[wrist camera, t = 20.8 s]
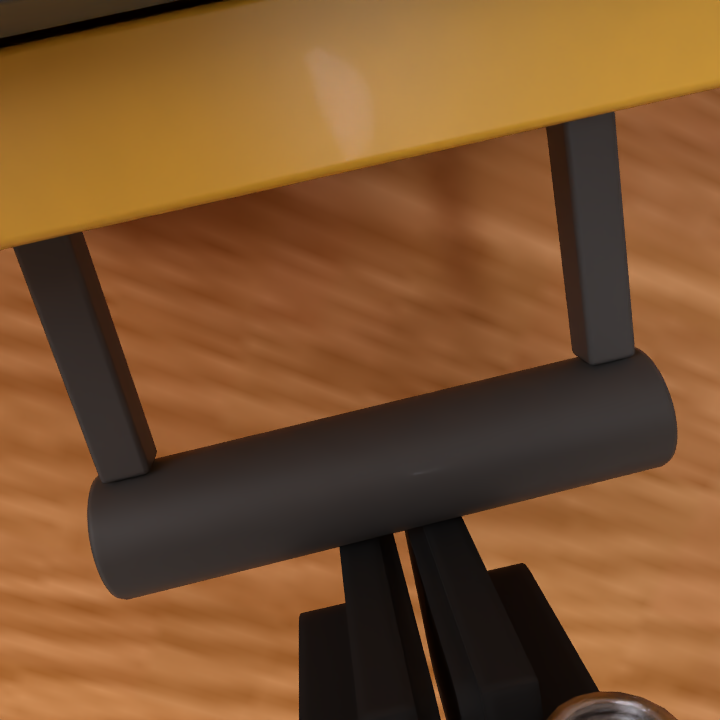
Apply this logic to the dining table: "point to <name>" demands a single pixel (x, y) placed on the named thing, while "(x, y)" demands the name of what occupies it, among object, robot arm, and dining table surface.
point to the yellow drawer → (316, 160)
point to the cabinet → (60, 12)
